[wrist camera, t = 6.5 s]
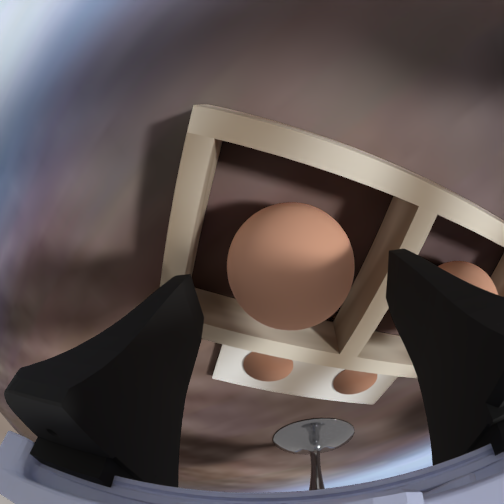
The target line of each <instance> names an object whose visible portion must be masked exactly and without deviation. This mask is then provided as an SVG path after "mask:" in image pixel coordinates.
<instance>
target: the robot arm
mask: <svg viewBox="0 0 504 504" xmlns="http://www.w3.org/2000/svg"><path fill="white" fill-rule="evenodd" d="M386 300H387V303H388V307H389V310H390V313H391V316H392V319H393V322H394V324H395V326H396V328H397V330H398V332H399V335H400V337H401V339H402V341H403V343H404V346H405V348H406V350H407V352H408V355H409V357H410V359H411V361H412V364H413V366H414V369H415V372H416V375H417V378H418V382H419V385H420V389H421V393H422V397H423V401H424V406H425V410H426V415H427V421H428V427H429V433H430V440H431V449H432V461H433V466H430V467H427V468H424V469H420V470H417V471H413V472H410V473H406V474H402V475H398V476H394V477H390V478H386V479H381V480H377V481H372V482H367V483H361V484H355V485H349V486H343V487H336V488H328V489H319V490H309V491H296V492H275V493H239V492H218V491H205V490H194V489H185V488H178V465H179V448H180V436H181V426H182V418H183V411H184V404H185V398H186V393H187V389H188V385H189V382H190V378H191V375H192V371H193V368H194V364H195V361H196V357H197V354H198V350H199V347H200V343H201V338H202V332H203V324H204V315H203V312H202V309H201V306H200V303H199V300H198V297H197V293H196V290H195V287H194V284H193V280H192V277H191V274H186V275H176V276H174V277H172V278H171V279H170V280H168V281H167V282H166V283H165V284H163V285H162V286H161V287H160V288H159V289H157V290H156V291H155V292H154V293H153V294H151V295H150V296H149V297H148V298H147V299H146V300H144V301H143V302H142V303H141V304H140V305H138V306H137V307H136V308H135V309H133V310H132V311H131V312H129V313H128V314H127V315H126V316H124V317H123V318H122V319H121V320H119V321H118V322H116V323H115V324H114V325H112V326H111V327H109V328H108V329H106V330H105V331H103V332H101V333H100V334H98V335H97V336H95V337H93V338H91V339H89V340H88V341H86V342H84V343H82V344H80V345H79V346H77V347H75V348H73V349H71V350H68V351H66V352H64V353H62V354H60V355H57V356H55V357H52V358H50V359H47V360H44V361H41V362H38V363H35V364H32V365H29V366H26V367H22V368H20V369H19V370H18V372H17V373H16V375H15V376H14V378H13V379H12V381H11V382H10V384H9V385H8V387H7V388H6V390H5V392H4V396H5V399H6V402H7V404H8V405H9V407H10V408H11V409H12V411H13V412H14V413H15V414H16V415H17V416H18V417H19V418H20V419H21V420H22V422H23V423H24V424H25V425H26V426H27V427H28V428H29V429H30V430H31V431H32V432H33V433H34V434H35V435H37V436H38V438H37V440H36V442H35V443H34V442H32V441H31V440H29V439H28V438H26V437H23V436H21V435H19V434H17V433H14V432H12V431H8V432H7V434H6V436H5V438H4V440H3V442H2V444H1V446H0V494H1V495H3V496H4V497H6V498H7V499H9V500H10V501H12V502H13V503H15V504H504V297H502V296H499V295H497V294H494V293H491V292H489V291H486V290H484V289H481V288H479V287H477V286H474V285H472V284H470V283H468V282H466V281H464V280H462V279H460V278H458V277H456V276H454V275H452V274H450V273H449V272H447V271H445V270H443V269H441V268H440V267H438V266H436V265H434V264H433V263H431V262H429V261H427V260H425V259H424V258H422V257H420V256H418V255H417V254H415V253H413V252H411V251H409V250H406V249H397V250H389V256H388V273H387V287H386Z"/></svg>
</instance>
